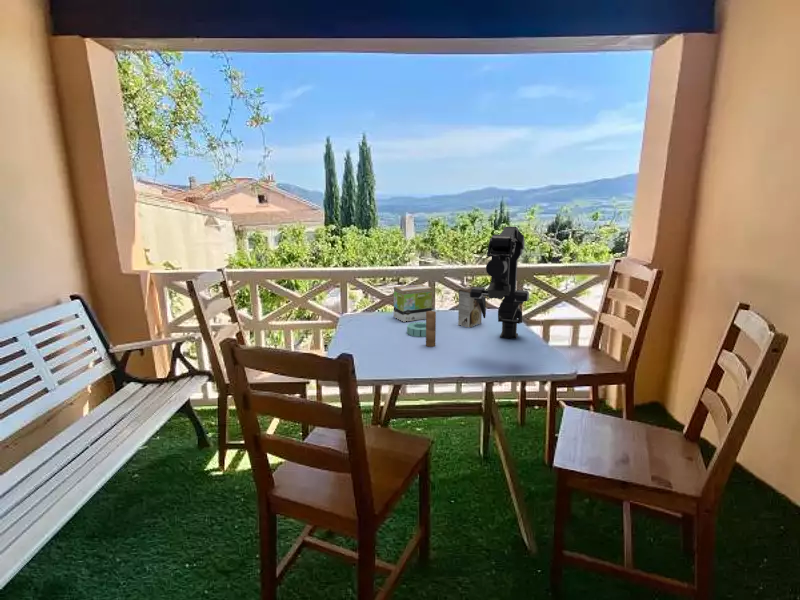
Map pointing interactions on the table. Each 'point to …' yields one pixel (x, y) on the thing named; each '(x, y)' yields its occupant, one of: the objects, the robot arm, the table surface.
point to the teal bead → (417, 329)
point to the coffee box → (468, 309)
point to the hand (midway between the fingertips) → (498, 319)
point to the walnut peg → (430, 328)
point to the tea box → (412, 302)
